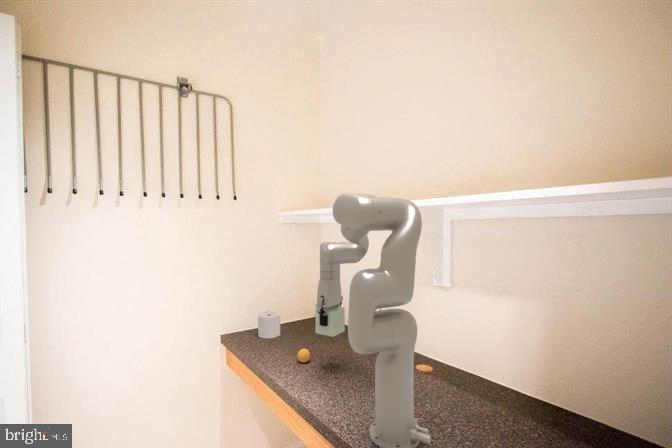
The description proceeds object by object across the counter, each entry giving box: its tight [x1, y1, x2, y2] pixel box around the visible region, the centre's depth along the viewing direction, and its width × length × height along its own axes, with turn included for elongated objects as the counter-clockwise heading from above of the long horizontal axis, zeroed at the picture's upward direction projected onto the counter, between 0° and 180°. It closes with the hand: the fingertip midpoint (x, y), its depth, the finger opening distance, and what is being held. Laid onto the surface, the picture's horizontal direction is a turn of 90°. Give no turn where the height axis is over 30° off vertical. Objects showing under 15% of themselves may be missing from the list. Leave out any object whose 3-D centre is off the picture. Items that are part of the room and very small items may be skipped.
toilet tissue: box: [257, 310, 281, 339], centre depth 160 cm, size 11×12×10 cm
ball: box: [297, 348, 311, 363], centre depth 127 cm, size 5×5×5 cm
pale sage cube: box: [315, 305, 346, 338], centre depth 121 cm, size 8×8×9 cm
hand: (330, 322), depth 121 cm, fingers closed on pale sage cube, 7 cm apart
